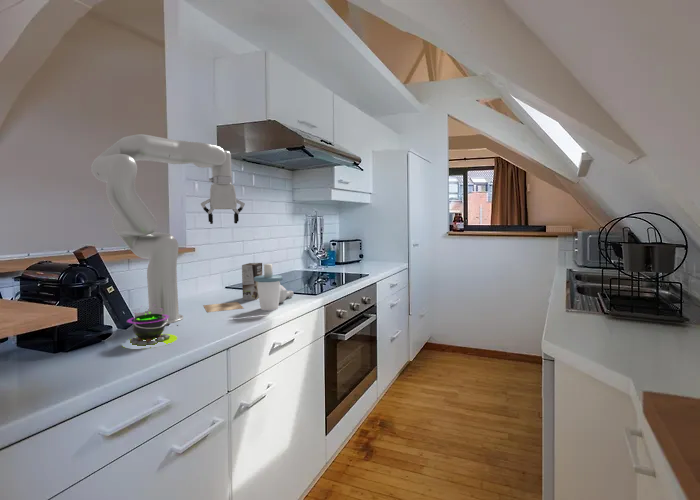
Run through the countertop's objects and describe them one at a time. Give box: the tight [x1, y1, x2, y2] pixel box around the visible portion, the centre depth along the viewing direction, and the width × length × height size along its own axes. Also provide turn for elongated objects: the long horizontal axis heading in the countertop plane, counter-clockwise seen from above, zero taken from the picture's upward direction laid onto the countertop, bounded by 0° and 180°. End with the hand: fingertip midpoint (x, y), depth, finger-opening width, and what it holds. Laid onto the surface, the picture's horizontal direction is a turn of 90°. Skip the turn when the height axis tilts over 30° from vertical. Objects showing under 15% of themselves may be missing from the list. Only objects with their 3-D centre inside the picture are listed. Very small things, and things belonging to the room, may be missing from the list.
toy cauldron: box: [127, 304, 178, 346], centre depth 120 cm, size 15×15×11 cm
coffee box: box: [241, 262, 263, 301], centre depth 182 cm, size 9×6×16 cm
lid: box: [254, 263, 284, 282], centre depth 159 cm, size 11×11×6 cm
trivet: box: [203, 301, 245, 313], centre depth 164 cm, size 14×14×1 cm
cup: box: [257, 281, 281, 311], centre depth 160 cm, size 9×9×12 cm
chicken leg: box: [279, 284, 294, 304], centre depth 178 cm, size 8×18×8 cm, turn 164°
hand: (223, 223), depth 166 cm, fingers open, 9 cm apart
